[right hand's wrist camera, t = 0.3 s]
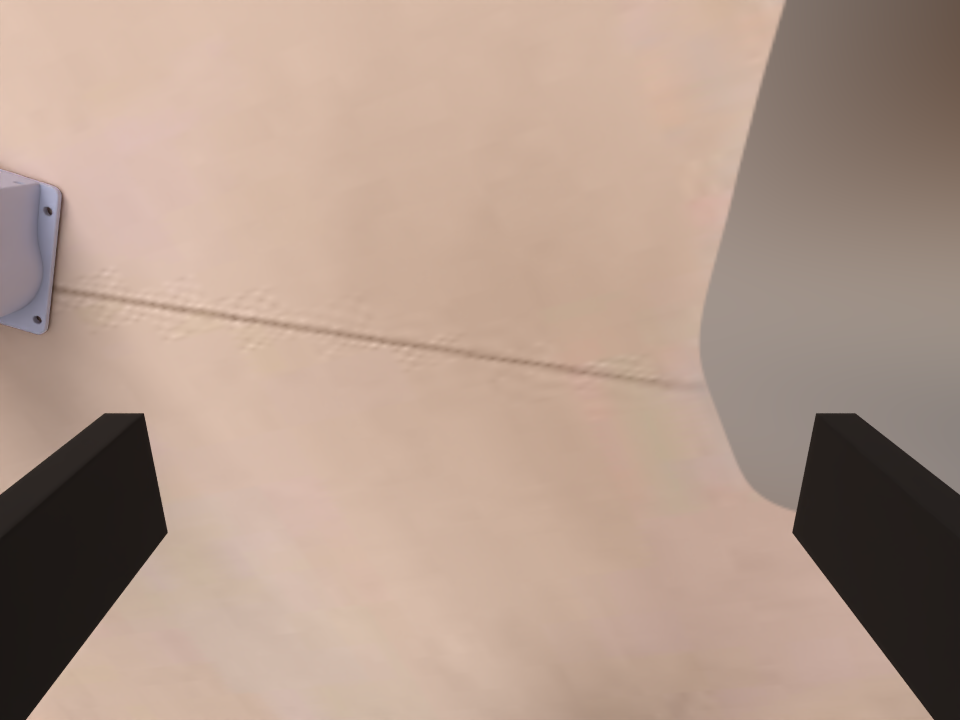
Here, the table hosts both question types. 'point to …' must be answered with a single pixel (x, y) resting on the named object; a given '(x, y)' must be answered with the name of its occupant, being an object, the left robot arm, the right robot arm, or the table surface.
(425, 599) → the table surface
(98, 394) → the table surface
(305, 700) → the table surface
